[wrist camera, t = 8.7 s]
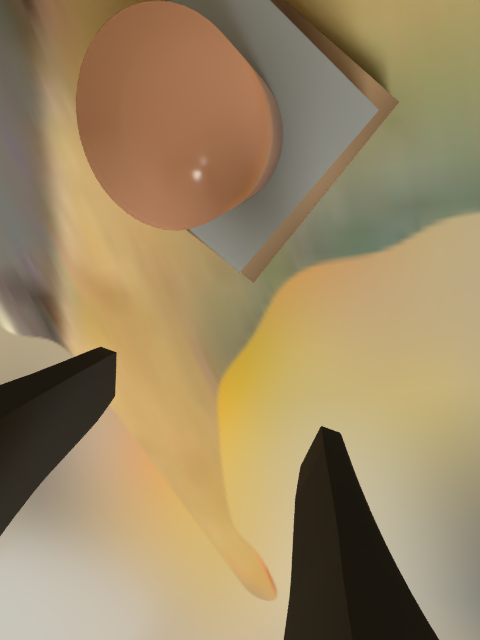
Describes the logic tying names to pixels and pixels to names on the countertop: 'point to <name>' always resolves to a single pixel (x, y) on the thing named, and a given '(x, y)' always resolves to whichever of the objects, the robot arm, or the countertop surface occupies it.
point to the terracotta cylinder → (174, 117)
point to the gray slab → (283, 119)
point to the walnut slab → (385, 106)
